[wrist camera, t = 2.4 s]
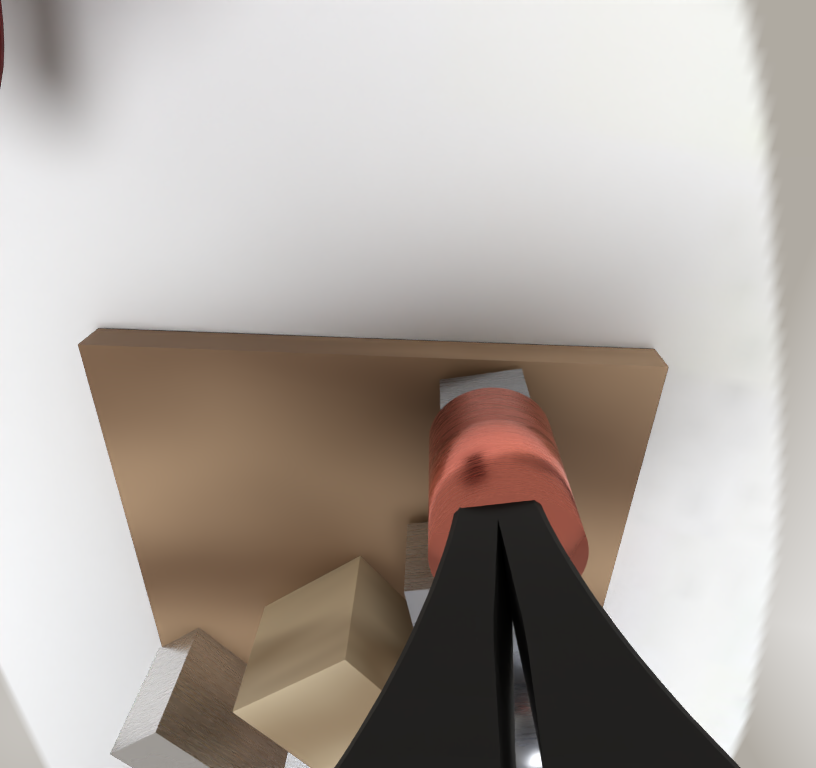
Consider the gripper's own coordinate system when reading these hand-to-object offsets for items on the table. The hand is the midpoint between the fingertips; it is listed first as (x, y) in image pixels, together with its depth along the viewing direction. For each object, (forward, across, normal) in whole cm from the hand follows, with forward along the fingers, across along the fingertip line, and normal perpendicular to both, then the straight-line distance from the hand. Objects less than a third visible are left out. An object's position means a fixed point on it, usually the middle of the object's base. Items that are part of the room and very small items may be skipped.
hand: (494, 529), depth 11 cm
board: (+5, +4, +7) cm, 10 cm away
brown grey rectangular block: (+5, +10, +10) cm, 15 cm away
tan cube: (+4, +5, +8) cm, 10 cm away
